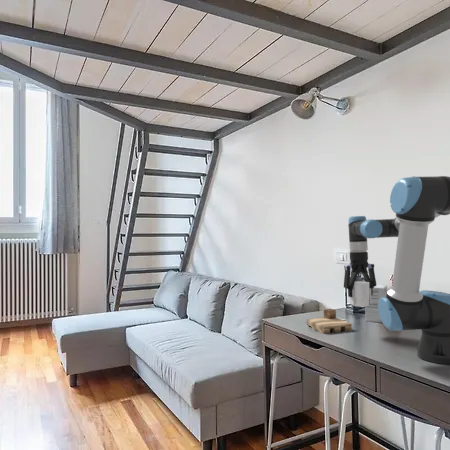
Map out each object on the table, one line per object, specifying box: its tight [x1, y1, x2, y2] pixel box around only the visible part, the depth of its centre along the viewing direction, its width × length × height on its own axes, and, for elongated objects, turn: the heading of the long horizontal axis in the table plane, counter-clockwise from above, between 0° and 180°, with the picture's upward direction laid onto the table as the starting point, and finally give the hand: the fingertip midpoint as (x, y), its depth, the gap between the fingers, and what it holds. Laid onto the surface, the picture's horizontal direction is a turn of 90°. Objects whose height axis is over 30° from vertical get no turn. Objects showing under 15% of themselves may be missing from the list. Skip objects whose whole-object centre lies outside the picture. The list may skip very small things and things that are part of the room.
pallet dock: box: [306, 316, 353, 335], centre depth 190 cm, size 16×14×3 cm
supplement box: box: [364, 284, 388, 324], centre depth 202 cm, size 10×9×17 cm
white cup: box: [352, 280, 369, 308], centre depth 178 cm, size 8×8×10 cm
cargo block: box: [323, 308, 337, 319], centre depth 197 cm, size 4×4×4 cm
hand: (360, 303), depth 178 cm, fingers closed on white cup, 8 cm apart
